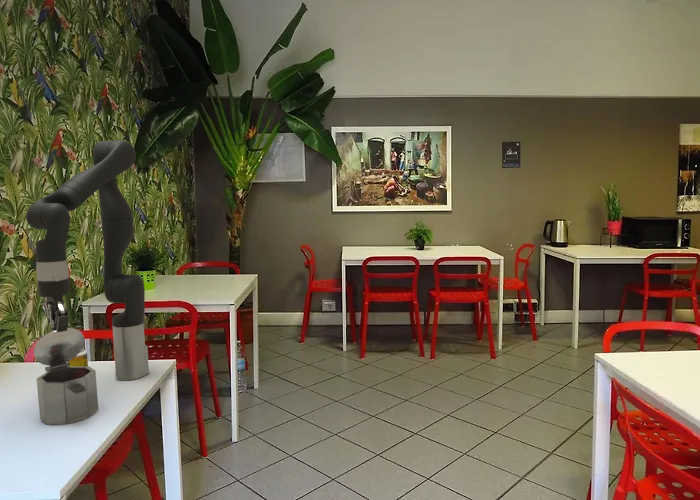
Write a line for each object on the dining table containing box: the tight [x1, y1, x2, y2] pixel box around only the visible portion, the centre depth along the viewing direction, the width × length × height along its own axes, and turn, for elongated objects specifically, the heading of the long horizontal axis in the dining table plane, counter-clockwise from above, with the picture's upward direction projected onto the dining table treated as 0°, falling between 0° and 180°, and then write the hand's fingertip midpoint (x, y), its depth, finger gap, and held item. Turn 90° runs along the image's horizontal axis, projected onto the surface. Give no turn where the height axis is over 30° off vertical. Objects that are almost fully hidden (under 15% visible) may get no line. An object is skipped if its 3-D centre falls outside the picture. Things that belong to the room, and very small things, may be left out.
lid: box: [33, 314, 86, 372], centre depth 142 cm, size 12×19×2 cm
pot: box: [36, 365, 99, 426], centre depth 140 cm, size 14×18×11 cm
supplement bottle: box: [67, 345, 89, 367], centre depth 170 cm, size 6×6×10 cm
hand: (58, 340), depth 143 cm, fingers closed
